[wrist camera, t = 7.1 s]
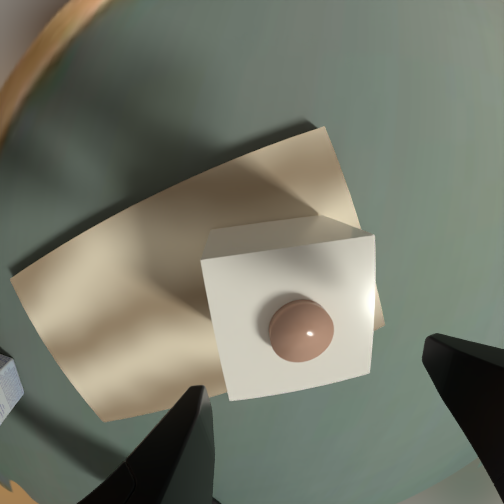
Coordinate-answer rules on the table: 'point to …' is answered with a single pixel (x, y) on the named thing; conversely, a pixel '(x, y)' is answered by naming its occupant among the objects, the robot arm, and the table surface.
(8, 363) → the medicine box
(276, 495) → the table surface
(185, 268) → the tan board
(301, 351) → the knobbed cube
